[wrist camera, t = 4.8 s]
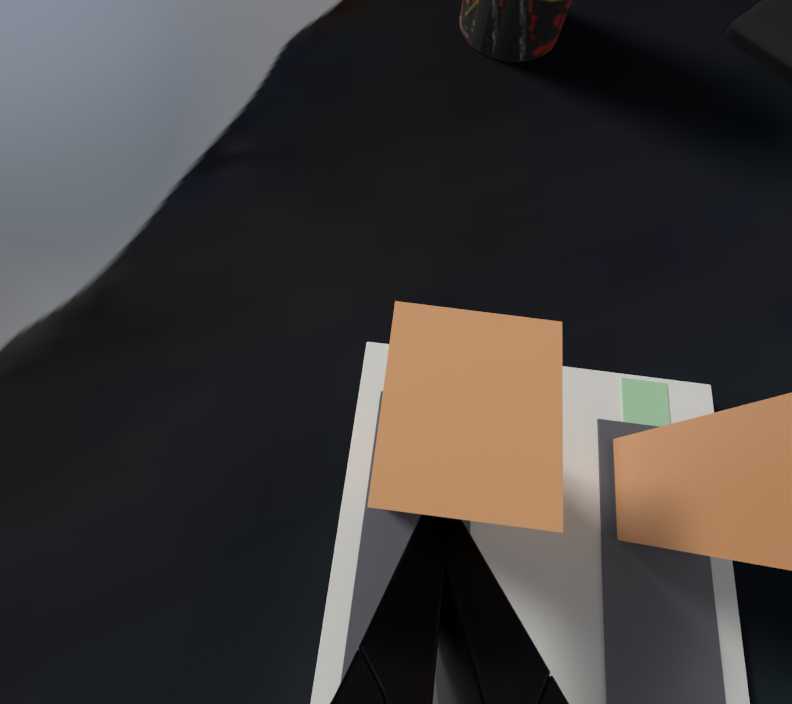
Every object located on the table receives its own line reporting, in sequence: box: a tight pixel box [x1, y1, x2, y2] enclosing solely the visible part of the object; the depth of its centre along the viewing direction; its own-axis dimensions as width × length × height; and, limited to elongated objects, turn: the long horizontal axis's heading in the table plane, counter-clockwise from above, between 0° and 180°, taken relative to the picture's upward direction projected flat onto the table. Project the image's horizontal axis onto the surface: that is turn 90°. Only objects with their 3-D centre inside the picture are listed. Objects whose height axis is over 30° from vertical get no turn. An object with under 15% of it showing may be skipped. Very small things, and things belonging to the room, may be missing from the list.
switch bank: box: [311, 342, 750, 704], centre depth 15 cm, size 16×14×1 cm
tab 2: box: [613, 393, 792, 571], centre depth 11 cm, size 4×3×9 cm
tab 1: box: [367, 301, 563, 533], centre depth 11 cm, size 4×3×9 cm
